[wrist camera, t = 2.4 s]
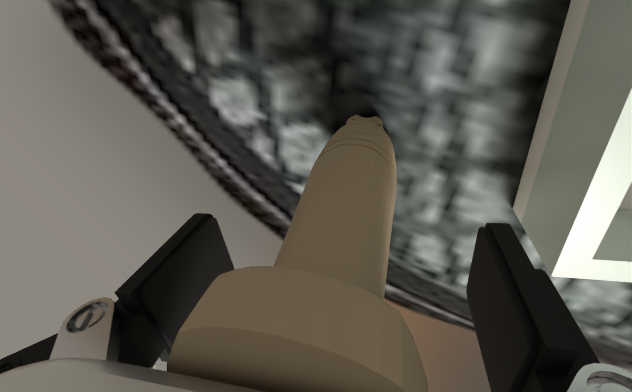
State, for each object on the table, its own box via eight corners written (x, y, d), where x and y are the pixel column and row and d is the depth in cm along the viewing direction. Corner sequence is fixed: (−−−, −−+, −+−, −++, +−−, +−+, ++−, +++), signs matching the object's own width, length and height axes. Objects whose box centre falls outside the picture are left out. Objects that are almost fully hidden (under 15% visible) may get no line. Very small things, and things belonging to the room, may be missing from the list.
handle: (324, 178, 20) (208, 450, 8) (327, 80, 16) (120, 297, 4) (395, 187, 19) (393, 512, 7) (415, 86, 15) (482, 383, 3)
